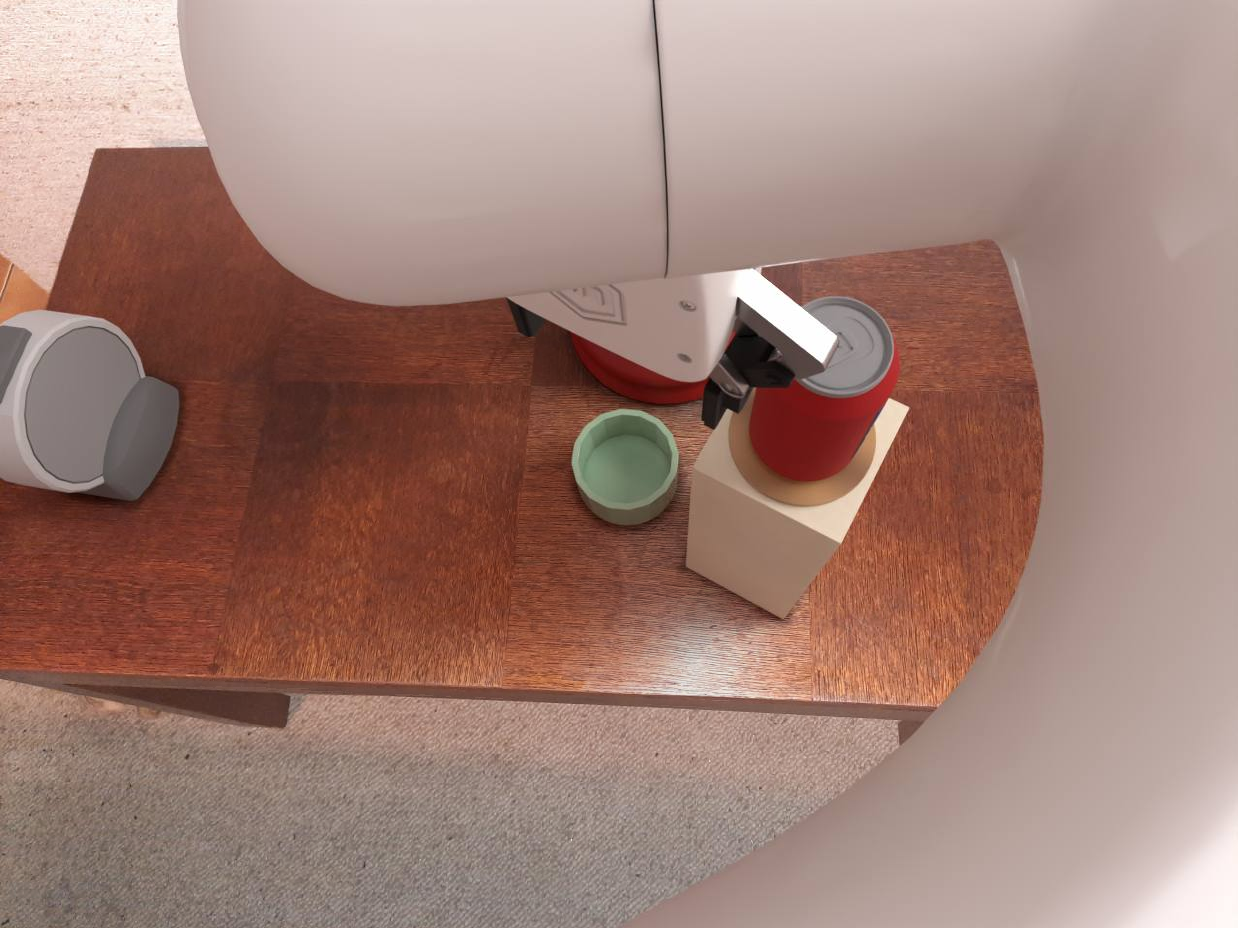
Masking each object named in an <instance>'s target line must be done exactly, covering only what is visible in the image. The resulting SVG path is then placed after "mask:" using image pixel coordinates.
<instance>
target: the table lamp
mask: <svg viewBox="0 0 1238 928" xmlns="http://www.w3.org/2000/svg"><path fill="white" fill-rule="evenodd" d="M761 276H762V277H763V274H762V273H761ZM570 335H571V336H570V337H571V340H572V344H573V346H574V349H575V351H576V352H577V354H578V356H579V359H580V360H581V362H582V363H583V365H584V366H585V367H586V369H587V370H588V371H589V373H590V374H591V375H593V377H595V378H596V380H598V381H599V382H600V383H601V384H603V386H605V387H607V388H609V389H611V390H612V391H614V392H615V393H617V394H619V395H622V396H624V397H627V398H630V399H633V400H636V401H640V402H645V403H649V404H650V403H651V404H658V405H665V404H667V405H671V404H672V405H673V404H682V403H687V402H691V401H696V400H699V399H701V398H703V393H704V388H705V385H706V383H707V382H708V380H709V378H710V377H709V376H708V377H707V378H706V379H705V380H702V381H698V382H683V381H678V380H674V379H671V378H668V377H665V376H663V375H661V374H658V373H656V372H654V371H652V370H649V369H647V368H645V367H643V366H641V365H639V364H636V363H634V362H632V361H630V360H628V359H626V358H624V357H622V356H620V355H618V354H616V353H614V352H611V351H609V350H607V349H605V348H603V347H601V346H599V345H597V344H595V343H593V342H591V341H589V340H587V339H585V338H583V337H581V336H579V335H577V334H575V333H573V332H571V331H570ZM734 335H735V332H734V331H733V330H732V333H731V336H730V339H729V342H728V344H727V347H728V346H729V344H730V342H731V341H732V339H733V337H734ZM727 347H726V349H727ZM726 349H725V351H726ZM725 351H724V352H725Z"/></svg>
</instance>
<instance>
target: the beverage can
mask: <svg viewBox="0 0 1238 928" xmlns="http://www.w3.org/2000/svg"><path fill="white" fill-rule="evenodd" d="M800 307H801V308H802V309H803V310H805V311H806V312H807V313H808V314H810V315H811V316H812V317H813V318H815V319H816V320H817V321H818V322H820V323H821V324H822V325H823V326H825V327H826V328H827V329H828V330H830V331H831V332H832V333H833V334H835V335H836V336H837V337H838V339H839V341H840V343H839V346H838V348H837V350H836V351H835V353H834V355H833V357H832V359H831V361H830V363H829V364H828V366H827V368H826V370H825V371H824V372H822V373H819V374H816V375H813V376H810V377H807V378H804V379H801V380H800V379H799V378H797V379H794V380H793V381H792V383H791V384H790V386H789V387H788V388H756V391H755V396H754V401H753V406H752V411H751V417H750V423H749V433H750V439H751V442H752V445H753V448H754V450H755V452H756V453H757V455H758V457H759V458H760V459H761V461H762V462H763V463H764V464H765V465H766V466H767V467H769V468H770V469H771V470H772V471H774V472H775V473H777V474H779V475H781V476H783V477H786V478H788V479H792V480H796V481H807V482H809V481H818V480H823V479H826V478H829V477H831V476H833V475H835V474H837V473H838V472H840V471H841V470H843V469H844V468H845V467H846V466H847V465H848V464H849V463H850V462H851V460H852V459H853V457H854V456H855V454H856V453H857V451H858V450H859V448H860V446H861V445H862V443H863V442H864V440H865V438H866V437H867V435H868V433H869V432H870V430H871V428H872V427H873V425H874V423H875V421H876V420H877V418H878V416H879V415H880V413H881V411H882V409H883V408H884V406H885V404H886V402H887V401H888V399H889V398H890V397H891V396H892V393H893V392H894V390H895V388H896V385H897V383H898V379H899V377H900V370H901V359H900V352H899V349H898V345H897V343H896V340H895V338H894V337H893V334H892V331H891V329H890V326H889V325H888V323H887V321H886V320H885V319H884V318H883V317H882V315H881V314H880V313H879V312H878V311H877V310H876V309H874V308H873V307H871V306H870V305H868V304H867V303H865V302H863V301H862V300H861V301H860V300H858V299H855V298H852V297H847V296H840V295H838V296H837V295H831V296H824V297H819V298H816V299H813V300H811V301H809V302H807V303H805V304H803V305H801V306H800Z"/></svg>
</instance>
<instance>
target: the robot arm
mask: <svg viewBox="0 0 1238 928" xmlns="http://www.w3.org/2000/svg"><path fill="white" fill-rule="evenodd" d="M176 3H177V7H176V17H177V19H176V20H177V27H178V39H179V40H178V41H179V49H180V50H179V51H180V55H181V60H182V61H181V62H182V65H183V71H184V76H185V80H186V86H187V88H188V92H189V96H190V99H191V102H192V105H193V108H194V112H195V115H196V118H197V122H198V123H199V125H200V127H201V130H202V132H203V135H204V138H205V141H206V144H207V148H208V151H209V153H210V157H211V159H212V161H213V164H214V167H215V170H216V173H217V175H218V177H219V179H220V182H221V183H222V185H223V187H224V189H225V191H226V194H227V195H228V197H229V200H230V201H231V204H232V205H233V207H234V208H235V210H236V212H237V213H238V214H239V216H240V217H241V219H242V220H243V221H244V223H245V224H246V226H247V227H248V229H249V230H250V232H251V233H252V234H253V236H254V237H255V239H256V241H258V243H259V244H260V246H262V247H263V248H264V249H265V250H266V251H267V252H268V254H269V255H271V257H272V258H274V259H275V260H276V261H277V263H279V265H281V266H282V267H283V268H284V269H286V270H287V271H289V272H290V273H292V274H293V275H295V276H296V277H297V278H298V279H300V280H302V281H303V282H305V283H307V284H308V285H310V286H312V287H313V288H316V289H318V290H321V291H323V292H325V293H328V294H330V295H333V296H336V297H338V298H342V299H344V300H347V301H353V302H358V303H361V304H362V303H363V304H369V305H377V306H387V307H415V306H439V305H440V306H441V305H451V304H462V303H468V302H469V303H470V302H477V301H484V300H485V301H486V300H494V299H495V300H496V299H502V298H506V302H507V304H508V306H509V309H510V312H511V315H512V317H513V320H514V323H515V326H516V329H517V331H518V334H521V335H523V336H524V337H527V338H531V337H533V338H534V337H535V336H537V334H538V332H540V329H542V327H543V325H544V324H545V322H546V321H550V322H551V323H553V324H555V325H556V326H559V327H560V328H562V329H564V330H567V331H569V332H570V333H571V332H573V333H575V334H577V335H579V336H581V337H583V338H585V339H587V340H589V341H591V342H593V343H595V344H597V345H599V346H601V347H603V348H605V349H607V350H609V351H611V352H614V353H616V354H618V355H620V356H622V357H624V358H626V359H628V360H630V361H632V362H634V363H636V364H639V365H641V366H643V367H645V368H647V369H649V370H652V371H654V372H656V373H658V374H661V375H663V376H665V377H668V378H671V379H674V380H678V381H683V382H698V381H702V380H705V379H706V378H707V377H708V376H709V377H710V378H709V380H708V382H707V383H706V385H705V388H704V393H703V397H702V405H701V406H702V407H701V417H700V420H701V422H703V426H704V427H707V428H709V429H710V430H712V431H713V430H715V429H716V427H717V426H718V424H719V422H720V420H721V419H722V417H723V415H724V413H725V412H726V410H727V409H729V410H731V411H733V412H735V413H737V414H739V413H740V412H741V410H742V408H743V407H744V405H745V403H746V401H747V400H748V398H749V396H750V394H751V392H752V390H753V388H788V387H789V386H790V384H791V383H792V381H793V380H794V379H797V378H799V379H800V380H801V379H804V378H807V377H810V376H813V375H816V374H819V373H822V372H824V371H825V370H826V368H827V366H828V364H829V363H830V361H831V359H832V357H833V355H834V353H835V351H836V350H837V348H838V346H839V343H840V341H839V339H838V337H837V336H836V335H835V334H833V333H832V332H831V331H830V330H828V329H827V328H826V327H825V326H823V325H822V324H821V323H820V322H818V321H817V320H816V319H815V318H813V317H812V316H811V315H810V314H808V313H807V312H806V311H805V310H803V309H802V308H801V306H800V305H799V304H797V303H796V302H795V301H793V299H791V298H790V297H789V296H788V295H786V294H785V293H784V292H783V291H781V290H780V289H779V288H778V287H776V286H775V285H774V284H772V282H770V281H769V280H767V279H766V278H765V277H764V276H763V275H762V276H761V274H762V269H763V268H767V267H768V268H769V267H776V266H783V265H784V266H785V265H791V264H800V263H801V264H802V263H808V262H816V261H817V262H818V261H824V260H833V259H841V258H850V257H857V256H865V255H874V254H882V253H891V252H900V251H910V250H918V249H919V250H921V249H929V248H937V247H943V246H944V247H945V246H952V245H954V246H955V245H960V244H961V245H962V244H969V243H974V242H979V241H993V242H994V243H995V245H996V246H997V247H998V248H999V250H1000V253H1001V255H1002V257H1003V260H1004V262H1005V265H1006V267H1007V270H1008V274H1009V277H1010V281H1011V284H1012V288H1013V291H1014V294H1015V295H1014V296H1015V299H1016V302H1017V305H1018V309H1019V313H1020V316H1021V321H1022V323H1023V327H1024V330H1025V331H1024V332H1025V334H1026V339H1027V343H1028V348H1029V351H1030V352H1029V353H1030V356H1031V357H1030V358H1031V362H1032V366H1033V371H1034V376H1035V380H1036V384H1037V391H1038V399H1039V401H1038V402H1039V409H1040V417H1041V418H1040V419H1041V427H1042V434H1043V450H1042V451H1043V452H1042V470H1041V472H1042V473H1041V491H1040V492H1041V496H1040V504H1039V510H1038V515H1037V521H1036V526H1035V531H1034V535H1033V538H1032V543H1031V544H1030V545H1031V546H1030V548H1029V549H1030V550H1029V553H1028V556H1027V560H1026V563H1025V565H1024V568H1023V571H1022V574H1021V576H1020V579H1019V582H1018V584H1017V586H1016V589H1015V591H1014V594H1013V596H1012V597H1011V600H1010V602H1009V605H1008V607H1007V608H1006V610H1005V612H1004V614H1003V617H1002V618H1001V619H1000V622H999V624H998V625H997V627H996V629H995V630H994V631H993V633H992V635H991V636H990V638H989V640H988V641H987V642H986V644H985V645H984V647H983V648H982V650H981V652H979V654H978V656H977V657H976V659H975V660H974V662H973V663H972V665H971V666H970V668H969V670H968V671H967V672H966V674H965V676H964V677H963V678H962V679H961V682H959V684H958V685H957V686H956V687H955V688H954V689H953V690H952V691H951V692H950V693H949V695H948V696H946V698H945V699H944V700H942V702H941V703H940V704H939V705H938V706H937V707H936V708H935V710H933V712H932V713H931V714H930V715H929V716H928V717H927V718H926V719H925V720H924V721H923V723H922V724H921V725H920V726H919V727H918V728H917V729H916V730H915V731H914V733H913V734H912V735H911V736H910V737H908V738H907V739H906V740H905V741H904V742H902V744H900V745H899V746H898V747H896V749H894V750H893V751H892V752H891V753H889V754H888V755H887V756H886V757H885V758H883V759H882V760H881V761H880V762H879V763H878V764H876V765H875V766H874V767H873V768H871V769H870V770H869V771H868V772H867V773H866V774H864V775H863V776H862V777H860V778H859V780H857V781H856V782H855V783H854V784H853V785H851V786H850V787H849V788H847V789H845V790H844V791H842V792H841V793H839V794H838V795H837V796H836V797H834V798H833V799H831V800H829V802H827V803H826V804H824V805H823V806H821V807H820V808H818V809H816V810H815V811H814V812H812V813H811V814H809V815H808V816H807V817H806V818H804V819H802V820H801V821H799V822H798V823H796V824H795V825H793V826H792V827H790V828H789V829H787V830H786V831H783V832H782V833H781V834H779V835H778V836H776V837H775V838H773V839H771V840H770V841H769V842H767V843H765V844H763V846H760V847H759V848H757V849H755V850H754V851H752V852H749V853H748V854H745V856H743V857H741V858H738V859H737V860H736V861H734V862H732V863H730V864H729V865H727V866H725V867H724V868H721V869H720V870H718V871H716V872H714V873H712V874H710V875H709V876H707V877H705V878H704V879H702V880H700V881H698V882H697V883H694V884H693V885H691V886H689V887H688V888H686V889H685V890H682V891H681V892H679V893H677V894H675V895H673V896H671V897H670V898H668V899H666V900H664V901H662V902H661V903H659V904H657V905H655V906H653V907H651V908H650V909H648V910H646V911H644V912H642V913H640V914H638V915H636V916H635V917H632V918H631V919H629V920H627V921H625V922H624V923H622V924H620V925H618V926H616V927H615V928H1238V0H177V2H176ZM732 330H733V331H734V332H735V335H734V337H733V339H732V341H731V342H730V344H729V346H728V347H727V344H728V342H729V339H730V336H731V333H732ZM726 347H727V349H726ZM725 349H726V351H725ZM724 351H725V352H724Z"/></svg>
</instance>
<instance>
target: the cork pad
mask: <svg viewBox="0 0 1238 928" xmlns="http://www.w3.org/2000/svg"><path fill="white" fill-rule="evenodd" d="M755 391H756V388H753V390H752V392H751V394H750V396H749V398H748V400H747V401H746V403H745V405H744V407H743V408H742V410H741V412H740V413H739V414H737V413H735V412H733V413H732V416H731V419H730V425H729V447H730V451H731V455H732V458H733V460H734V463H735V465H736V467H737V468H738V470H739V472H740V473H741V475H742V476H743V477H744V478H745V480H746V481H747V482H748V483H749V484H750V485H751V486H752V487H753V488H755V489H756V490H757V491H759V492H760V493H762V494H763V495H765V496H767V497H768V498H770V499H773V500H775V501H777V502H781V503H784V504H787V505H793V506H805V507H808V506H818V505H823V504H827V503H830V502H833V501H836V500H837V499H839V498H841V497H843V496H845V495H846V494H848V493H849V492H851V491H852V490H853V489H854V488H855V487H856V486H857V485H859V483H860V482H861V481H862V480H863V478H864V477H865V476H866V474H867V472H868V471H869V469H870V467H871V464H872V462H873V459H874V456H875V452H876V443H877V442H876V430H875V424H874V425H873V427H872V428H871V430H870V432H869V433H868V435H867V437H866V438H865V440H864V442H863V443H862V445H861V446H860V448H859V450H858V451H857V453H856V454H855V456H854V457H853V459H852V460H851V462H850V463H849V464H848V465H847V466H846V467H845V468H844V469H843V470H841V471H840V472H838V473H837V474H835V475H833V476H831V477H829V478H826V479H823V480H818V481H809V482H807V481H796V480H792V479H788V478H786V477H783V476H781V475H779V474H777V473H775V472H774V471H772V470H771V469H770V468H769V467H767V466H766V465H765V464H764V463H763V462H762V461H761V459H760V458H759V457H758V455H757V453H756V452H755V450H754V448H753V445H752V442H751V439H750V433H749V423H750V417H751V411H752V406H753V401H754V396H755Z"/></svg>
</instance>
